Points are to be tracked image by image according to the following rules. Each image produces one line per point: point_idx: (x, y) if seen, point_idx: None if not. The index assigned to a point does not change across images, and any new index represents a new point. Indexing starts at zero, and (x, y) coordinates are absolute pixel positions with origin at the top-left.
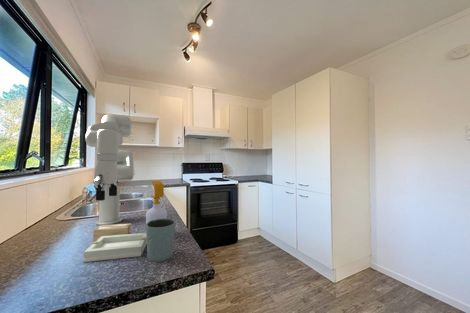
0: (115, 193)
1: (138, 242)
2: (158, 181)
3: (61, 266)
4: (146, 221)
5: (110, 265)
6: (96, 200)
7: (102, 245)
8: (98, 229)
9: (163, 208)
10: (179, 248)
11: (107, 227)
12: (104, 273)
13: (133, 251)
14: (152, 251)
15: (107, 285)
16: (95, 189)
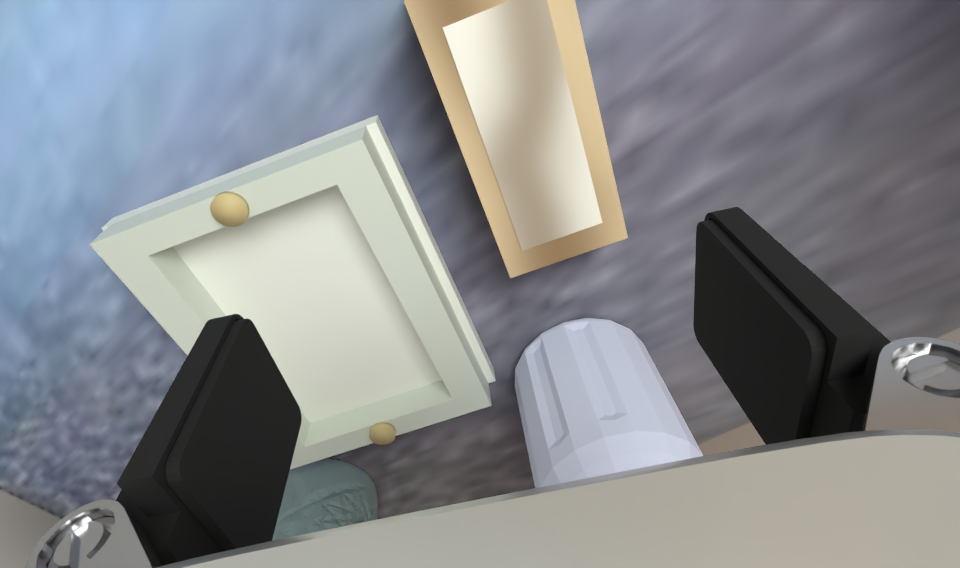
0: (715, 358)
1: (400, 375)
2: None
3: (6, 130)
4: (560, 412)
5: (159, 372)
6: (219, 320)
7: (300, 198)
8: (431, 44)
9: None
10: None
11: (496, 100)
12: (95, 394)
13: None
14: None
15: (44, 454)
16: (37, 560)
